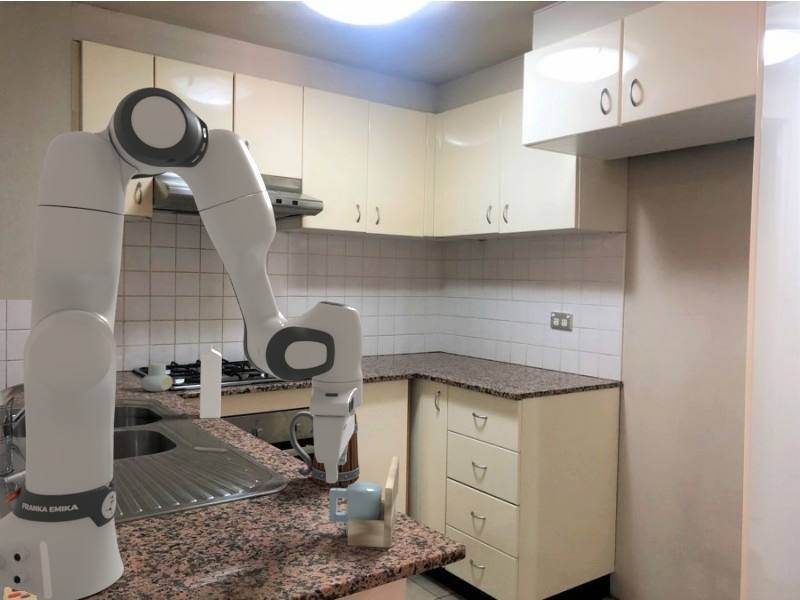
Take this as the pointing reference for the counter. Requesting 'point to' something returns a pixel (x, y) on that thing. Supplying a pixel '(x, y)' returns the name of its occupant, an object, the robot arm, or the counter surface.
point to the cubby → (376, 530)
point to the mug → (345, 472)
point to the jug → (356, 502)
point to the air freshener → (156, 378)
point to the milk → (210, 384)
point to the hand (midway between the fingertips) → (336, 472)
